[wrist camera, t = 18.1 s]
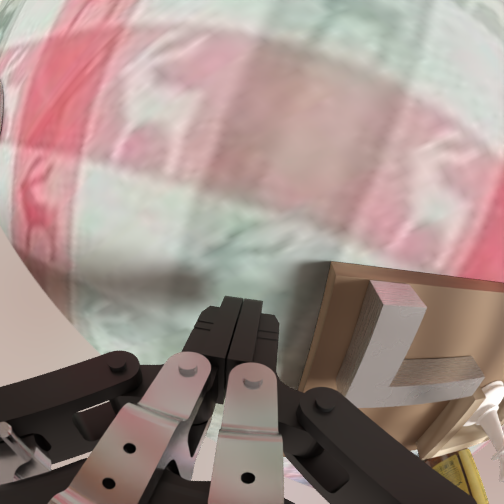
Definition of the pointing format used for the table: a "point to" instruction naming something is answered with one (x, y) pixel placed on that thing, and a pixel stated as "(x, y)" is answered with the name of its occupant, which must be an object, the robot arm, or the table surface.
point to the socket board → (417, 349)
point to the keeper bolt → (398, 356)
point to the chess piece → (491, 420)
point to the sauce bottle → (460, 472)
